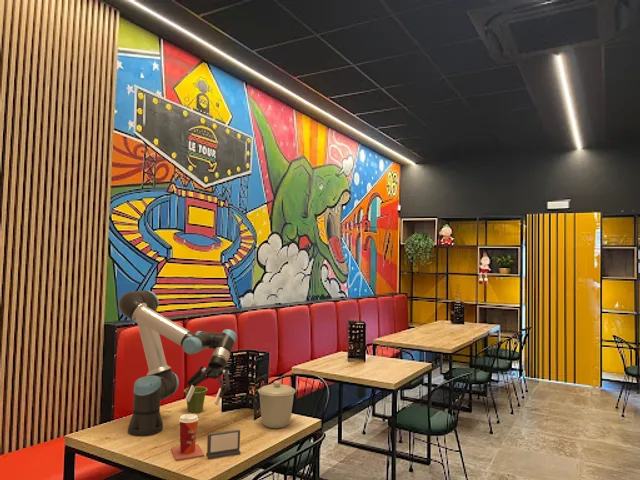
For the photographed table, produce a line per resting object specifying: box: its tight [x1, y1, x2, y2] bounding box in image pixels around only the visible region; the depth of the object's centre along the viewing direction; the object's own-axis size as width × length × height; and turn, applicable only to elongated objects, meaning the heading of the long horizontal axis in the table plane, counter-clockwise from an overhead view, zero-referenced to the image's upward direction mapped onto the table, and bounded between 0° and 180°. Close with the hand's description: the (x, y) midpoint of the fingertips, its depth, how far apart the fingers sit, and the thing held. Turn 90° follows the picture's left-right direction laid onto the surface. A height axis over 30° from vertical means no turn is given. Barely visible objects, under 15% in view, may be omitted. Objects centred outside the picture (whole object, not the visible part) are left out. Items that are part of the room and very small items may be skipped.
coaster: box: [170, 443, 205, 462], centre depth 190 cm, size 12×11×1 cm
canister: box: [257, 380, 296, 429], centre depth 226 cm, size 18×18×21 cm
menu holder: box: [205, 429, 241, 460], centre depth 189 cm, size 4×13×9 cm, turn 116°
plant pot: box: [183, 386, 208, 414], centre depth 243 cm, size 12×12×11 cm
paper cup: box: [178, 413, 199, 454], centre depth 190 cm, size 8×8×14 cm
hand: (201, 402), depth 201 cm, fingers open, 13 cm apart
